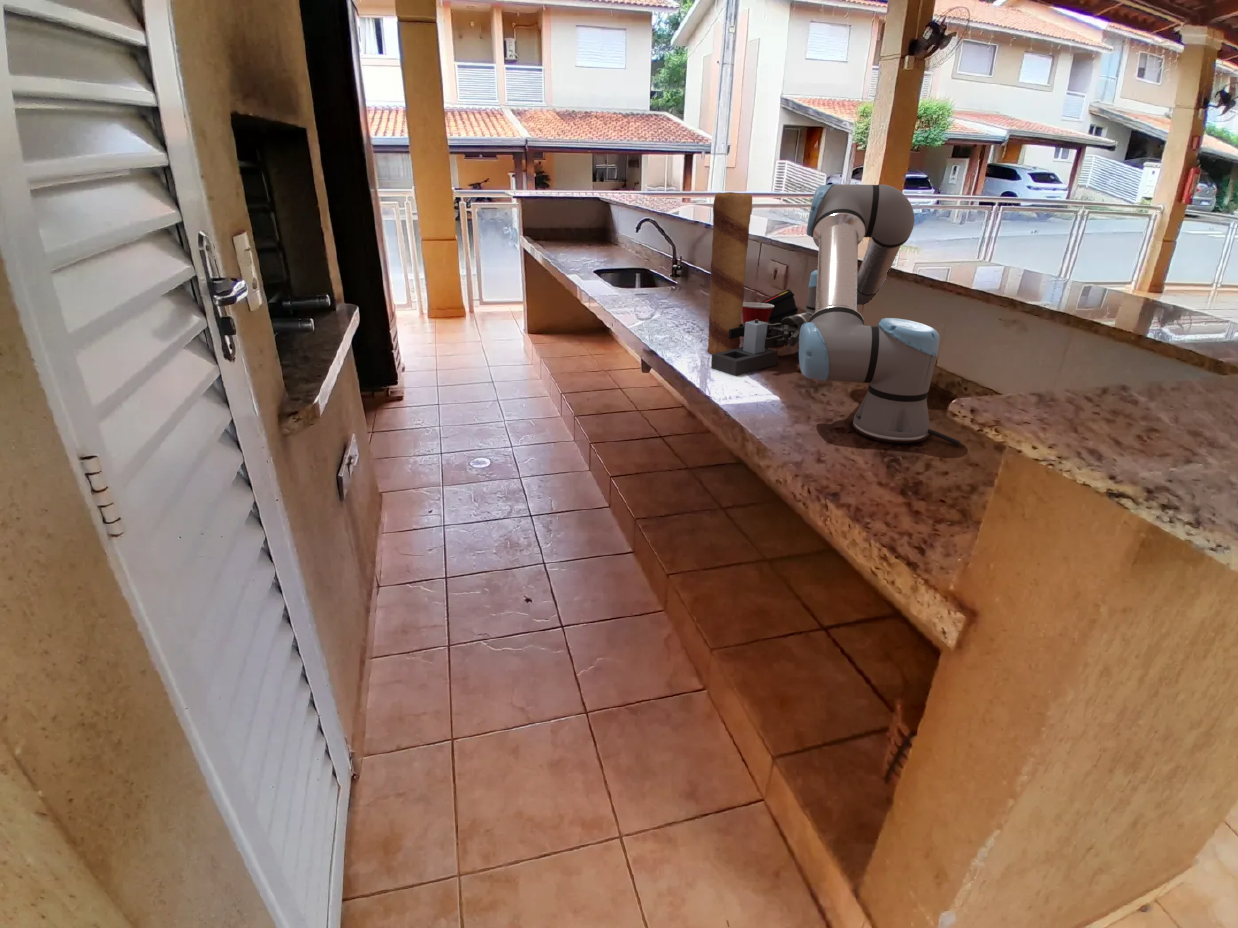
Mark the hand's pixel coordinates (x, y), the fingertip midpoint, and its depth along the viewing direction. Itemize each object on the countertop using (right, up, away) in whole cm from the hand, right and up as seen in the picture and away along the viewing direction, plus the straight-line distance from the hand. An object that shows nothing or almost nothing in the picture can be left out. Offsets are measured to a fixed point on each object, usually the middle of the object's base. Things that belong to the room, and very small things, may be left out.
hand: (747, 338), depth 173 cm
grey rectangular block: (+3, -6, +5) cm, 9 cm away
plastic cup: (+8, +5, +29) cm, 31 cm away
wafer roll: (-4, -1, +17) cm, 18 cm away
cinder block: (0, -7, +3) cm, 8 cm away
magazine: (+17, +8, +35) cm, 40 cm away
